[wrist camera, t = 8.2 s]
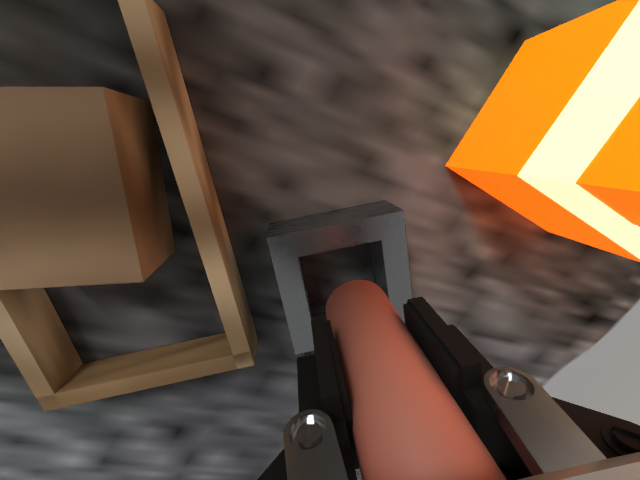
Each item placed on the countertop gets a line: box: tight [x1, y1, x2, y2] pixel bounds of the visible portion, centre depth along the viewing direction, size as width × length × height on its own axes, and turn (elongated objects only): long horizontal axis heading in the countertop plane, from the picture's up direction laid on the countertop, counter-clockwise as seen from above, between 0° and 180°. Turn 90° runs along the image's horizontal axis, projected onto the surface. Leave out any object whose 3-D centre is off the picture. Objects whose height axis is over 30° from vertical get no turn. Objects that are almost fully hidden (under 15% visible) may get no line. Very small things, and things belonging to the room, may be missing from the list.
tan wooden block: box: [0, 87, 176, 290], centre depth 14 cm, size 8×7×4 cm
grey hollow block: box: [267, 200, 412, 356], centre depth 18 cm, size 12×7×5 cm, turn 10°
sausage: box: [326, 279, 507, 480], centre depth 10 cm, size 3×3×10 cm
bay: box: [0, 0, 258, 412], centre depth 16 cm, size 18×12×2 cm, turn 10°
